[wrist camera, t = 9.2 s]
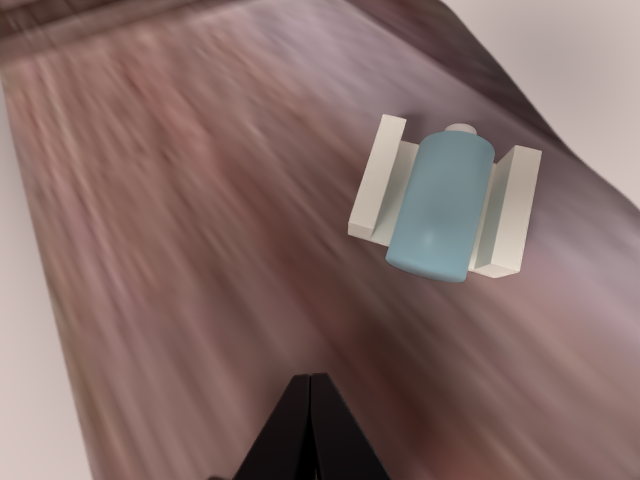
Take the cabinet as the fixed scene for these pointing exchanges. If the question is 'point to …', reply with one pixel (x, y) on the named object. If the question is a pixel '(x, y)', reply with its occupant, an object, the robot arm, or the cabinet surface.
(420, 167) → the bottle
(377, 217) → the u rest
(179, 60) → the cabinet surface
